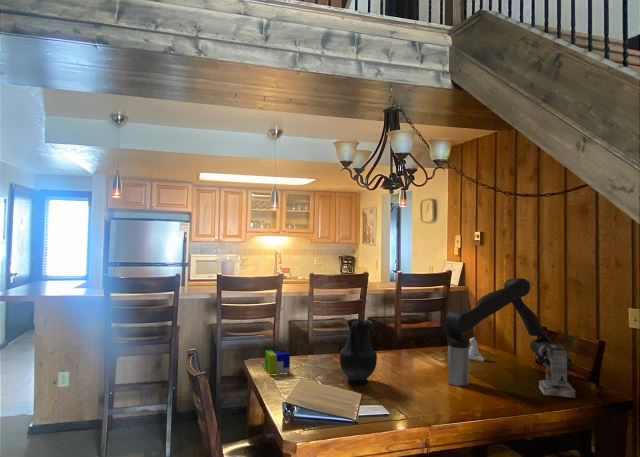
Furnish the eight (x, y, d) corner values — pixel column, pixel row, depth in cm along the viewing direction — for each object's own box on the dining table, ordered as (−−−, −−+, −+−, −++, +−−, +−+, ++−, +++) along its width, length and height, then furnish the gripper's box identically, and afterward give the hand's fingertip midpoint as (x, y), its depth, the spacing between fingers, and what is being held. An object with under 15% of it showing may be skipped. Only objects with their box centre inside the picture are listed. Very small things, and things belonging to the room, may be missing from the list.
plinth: (544, 395, 185) (544, 387, 185) (538, 386, 196) (538, 379, 196) (575, 398, 182) (575, 390, 182) (568, 389, 192) (568, 382, 192)
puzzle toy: (289, 374, 213) (289, 353, 214) (270, 376, 210) (270, 355, 210) (283, 368, 223) (283, 349, 223) (264, 370, 219) (265, 350, 219)
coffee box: (545, 378, 194) (544, 342, 194) (560, 379, 193) (560, 343, 193) (551, 385, 185) (551, 348, 185) (568, 386, 184) (567, 349, 184)
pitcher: (379, 378, 207) (379, 315, 208) (372, 393, 187) (372, 323, 188) (343, 375, 212) (344, 313, 213) (333, 389, 192) (334, 321, 193)
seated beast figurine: (484, 362, 235) (484, 339, 236) (468, 361, 237) (468, 339, 237) (481, 357, 245) (481, 336, 245) (465, 356, 246) (465, 335, 246)
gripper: (532, 344, 204) (539, 354, 188) (566, 347, 200) (576, 356, 184) (532, 360, 204) (539, 371, 188) (566, 363, 200) (577, 374, 184)
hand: (558, 364), depth 186 cm, fingers closed on coffee box, 6 cm apart
